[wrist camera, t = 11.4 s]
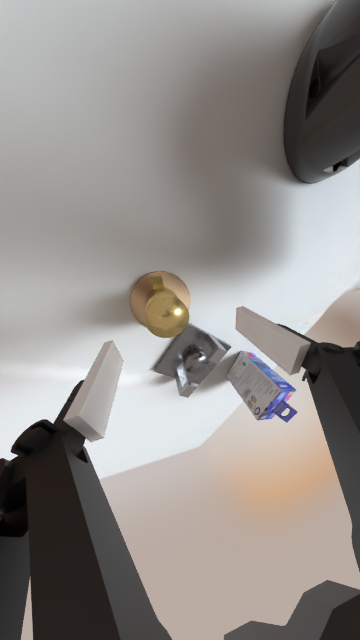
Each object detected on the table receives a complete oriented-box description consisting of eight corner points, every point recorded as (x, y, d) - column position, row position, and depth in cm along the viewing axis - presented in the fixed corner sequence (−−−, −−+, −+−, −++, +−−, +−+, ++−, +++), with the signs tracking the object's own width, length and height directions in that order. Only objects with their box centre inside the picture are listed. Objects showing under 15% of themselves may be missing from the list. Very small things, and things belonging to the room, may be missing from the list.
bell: (137, 279, 21) (133, 287, 15) (172, 271, 21) (183, 276, 15) (153, 330, 25) (156, 352, 19) (182, 322, 26) (193, 341, 20)
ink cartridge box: (239, 377, 40) (281, 431, 28) (225, 376, 39) (263, 434, 26) (254, 352, 37) (311, 401, 24) (240, 350, 35) (293, 402, 22)
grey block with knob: (187, 322, 27) (197, 336, 22) (229, 344, 33) (244, 360, 28) (154, 368, 30) (156, 390, 25) (197, 381, 36) (206, 401, 31)
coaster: (149, 257, 20) (149, 257, 20) (200, 292, 25) (201, 293, 24) (119, 313, 23) (119, 314, 22) (170, 335, 28) (170, 337, 27)
